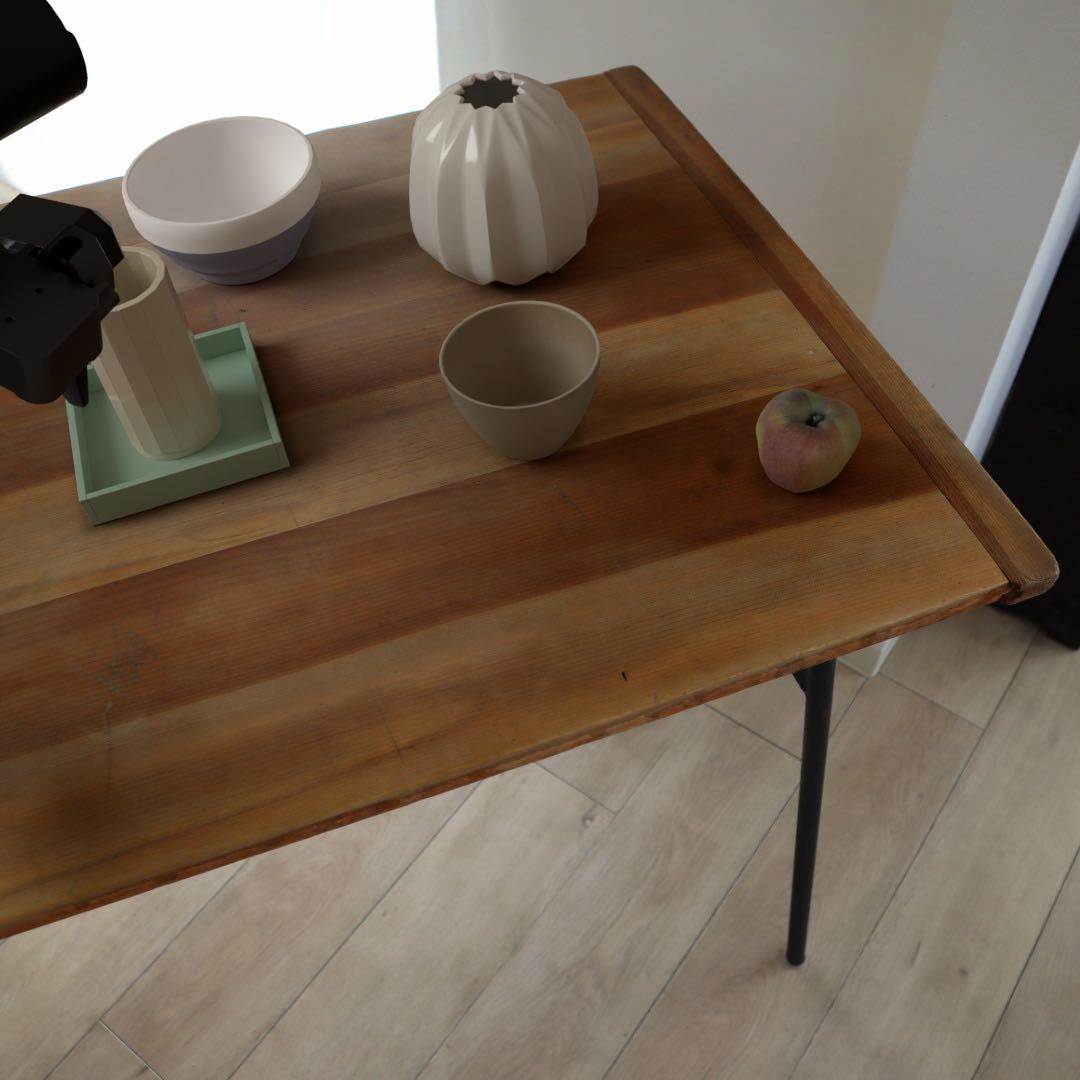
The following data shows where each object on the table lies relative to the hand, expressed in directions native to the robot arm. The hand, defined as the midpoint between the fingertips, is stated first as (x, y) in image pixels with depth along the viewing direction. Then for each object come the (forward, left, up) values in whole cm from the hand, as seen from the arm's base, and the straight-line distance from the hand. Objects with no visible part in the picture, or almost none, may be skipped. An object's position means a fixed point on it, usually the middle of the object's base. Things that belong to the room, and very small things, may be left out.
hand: (25, 463), depth 61 cm
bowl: (+14, +32, -13) cm, 37 cm away
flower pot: (+28, +4, -13) cm, 31 cm away
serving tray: (+6, +14, -13) cm, 20 cm away
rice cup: (+6, +14, -13) cm, 20 cm away
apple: (+42, -6, -13) cm, 44 cm away
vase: (+33, +23, -13) cm, 42 cm away
